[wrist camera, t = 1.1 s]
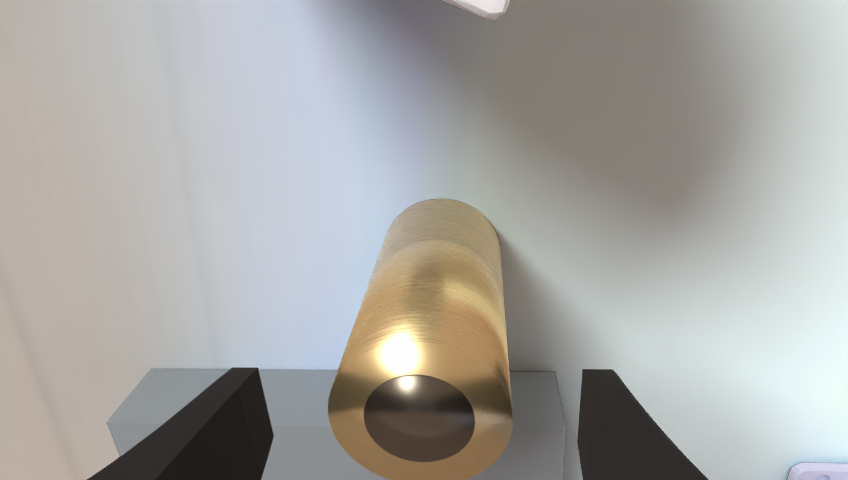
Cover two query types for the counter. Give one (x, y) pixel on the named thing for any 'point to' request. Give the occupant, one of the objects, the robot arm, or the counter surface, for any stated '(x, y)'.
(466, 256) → the brass sleeve
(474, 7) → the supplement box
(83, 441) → the counter surface
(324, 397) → the jig block
